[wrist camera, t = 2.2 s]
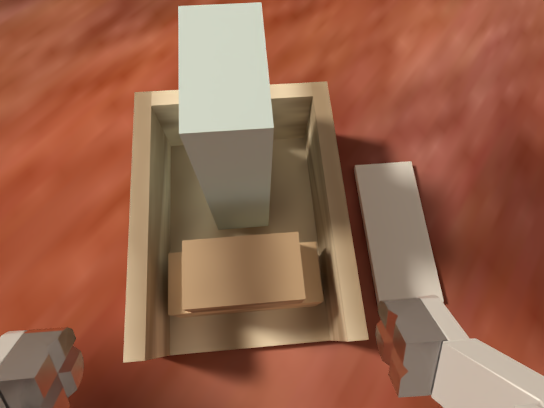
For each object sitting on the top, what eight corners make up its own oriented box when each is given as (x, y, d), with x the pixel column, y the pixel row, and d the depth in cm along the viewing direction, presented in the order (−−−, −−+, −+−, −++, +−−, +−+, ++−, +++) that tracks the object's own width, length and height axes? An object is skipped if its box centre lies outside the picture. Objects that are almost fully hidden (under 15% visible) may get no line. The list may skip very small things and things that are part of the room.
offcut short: (191, 313, 24) (182, 309, 21) (190, 251, 25) (181, 240, 22) (300, 303, 24) (305, 299, 21) (294, 243, 25) (298, 231, 23)
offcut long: (181, 317, 27) (168, 314, 24) (180, 263, 29) (168, 253, 25) (315, 306, 28) (323, 301, 24) (309, 253, 29) (315, 241, 26)
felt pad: (377, 308, 29) (380, 307, 28) (353, 168, 33) (355, 165, 32) (440, 302, 29) (443, 301, 29) (408, 164, 33) (411, 161, 33)
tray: (156, 356, 27) (123, 362, 21) (159, 140, 33) (134, 92, 27) (343, 338, 28) (368, 339, 22) (314, 130, 34) (327, 81, 28)
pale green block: (218, 229, 30) (179, 133, 16) (215, 151, 32) (178, 6, 18) (268, 226, 30) (273, 127, 16) (261, 148, 32) (261, 2, 18)
